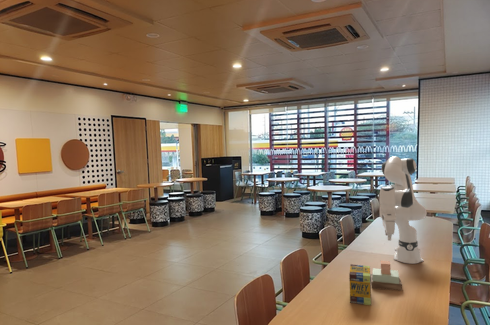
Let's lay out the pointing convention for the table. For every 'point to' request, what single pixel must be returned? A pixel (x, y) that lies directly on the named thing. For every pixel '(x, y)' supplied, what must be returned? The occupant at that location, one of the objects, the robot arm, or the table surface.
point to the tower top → (385, 276)
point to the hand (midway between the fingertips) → (388, 237)
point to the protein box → (360, 284)
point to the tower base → (386, 285)
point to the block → (385, 267)
